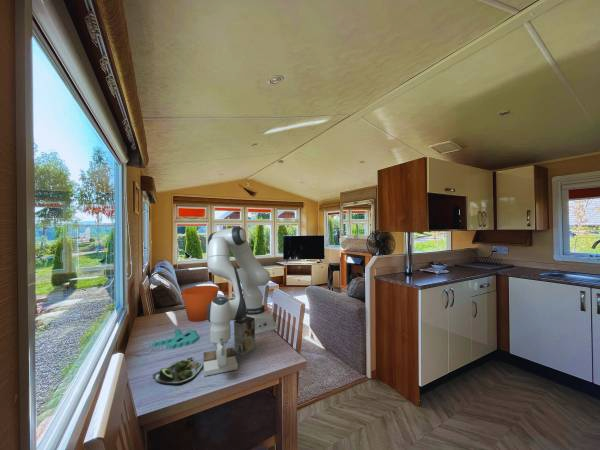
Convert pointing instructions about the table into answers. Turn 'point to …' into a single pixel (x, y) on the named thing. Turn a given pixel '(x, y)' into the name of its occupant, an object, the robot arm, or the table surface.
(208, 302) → the flowerpot
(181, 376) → the salad plate
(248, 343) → the coffee box
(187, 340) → the alien figure
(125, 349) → the table surface
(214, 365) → the grey plank
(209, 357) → the walnut board
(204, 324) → the table surface
